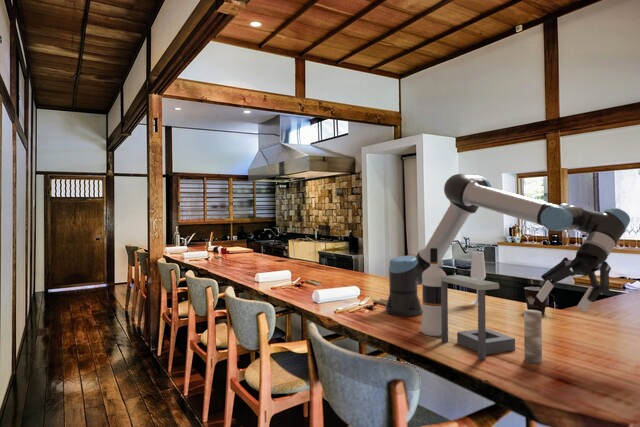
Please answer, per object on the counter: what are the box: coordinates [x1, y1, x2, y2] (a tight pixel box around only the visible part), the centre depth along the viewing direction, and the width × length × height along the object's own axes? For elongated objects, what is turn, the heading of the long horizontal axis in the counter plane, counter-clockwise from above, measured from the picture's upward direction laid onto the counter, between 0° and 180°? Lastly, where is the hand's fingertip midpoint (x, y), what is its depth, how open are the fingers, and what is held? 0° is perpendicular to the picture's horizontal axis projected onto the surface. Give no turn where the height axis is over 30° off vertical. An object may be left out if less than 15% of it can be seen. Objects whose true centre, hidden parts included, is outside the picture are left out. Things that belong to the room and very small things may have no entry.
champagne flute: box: [470, 251, 487, 306], centre depth 191 cm, size 7×7×24 cm
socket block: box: [456, 327, 516, 355], centre depth 130 cm, size 12×12×4 cm
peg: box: [523, 309, 543, 364], centre depth 117 cm, size 4×4×14 cm
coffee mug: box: [524, 286, 556, 315], centre depth 171 cm, size 12×9×10 cm
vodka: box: [420, 248, 447, 338], centre depth 144 cm, size 9×9×30 cm
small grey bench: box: [441, 274, 500, 361], centre depth 128 cm, size 7×19×22 cm, turn 20°
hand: (559, 303), depth 120 cm, fingers open, 13 cm apart
